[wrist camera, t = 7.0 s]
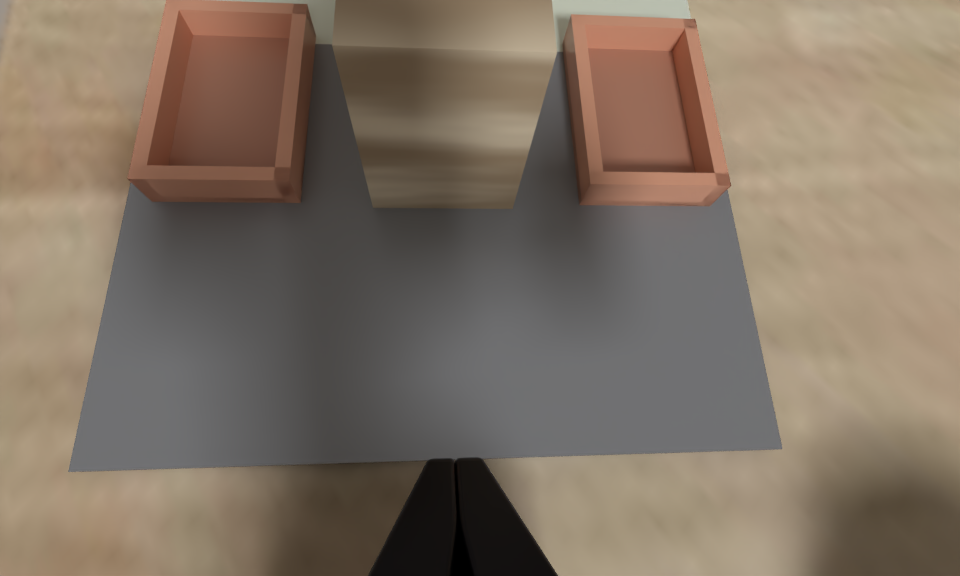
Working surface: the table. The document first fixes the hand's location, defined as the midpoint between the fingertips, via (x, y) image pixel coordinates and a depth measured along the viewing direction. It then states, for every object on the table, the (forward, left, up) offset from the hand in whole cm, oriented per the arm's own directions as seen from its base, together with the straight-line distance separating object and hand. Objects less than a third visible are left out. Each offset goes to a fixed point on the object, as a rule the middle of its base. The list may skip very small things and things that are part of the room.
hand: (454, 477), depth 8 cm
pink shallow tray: (+18, +1, -11) cm, 21 cm away
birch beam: (+15, +11, -11) cm, 22 cm away
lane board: (+13, +9, -12) cm, 19 cm away
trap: (+7, +16, -11) cm, 21 cm away
